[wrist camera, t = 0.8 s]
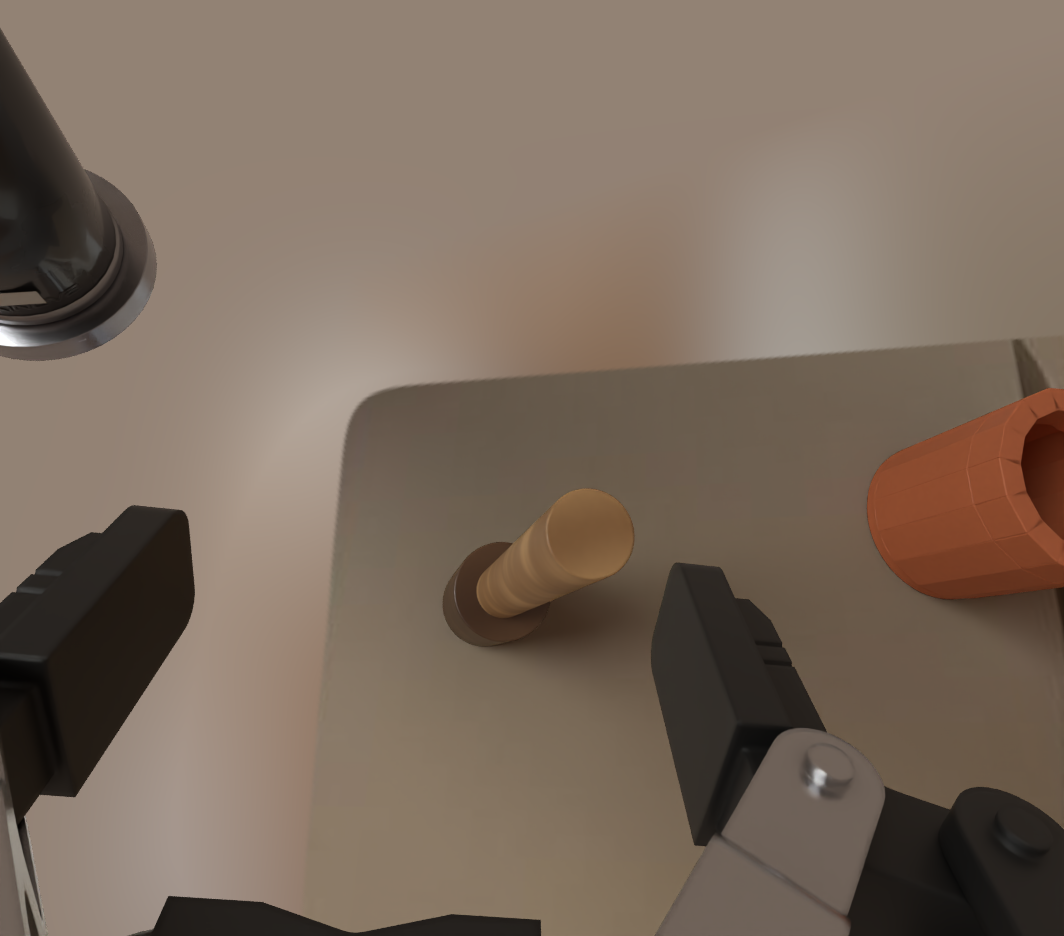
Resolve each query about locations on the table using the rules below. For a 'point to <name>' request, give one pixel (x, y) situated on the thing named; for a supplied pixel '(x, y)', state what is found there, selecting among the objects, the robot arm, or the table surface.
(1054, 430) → the jar
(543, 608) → the brown cylinder
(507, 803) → the table surface
